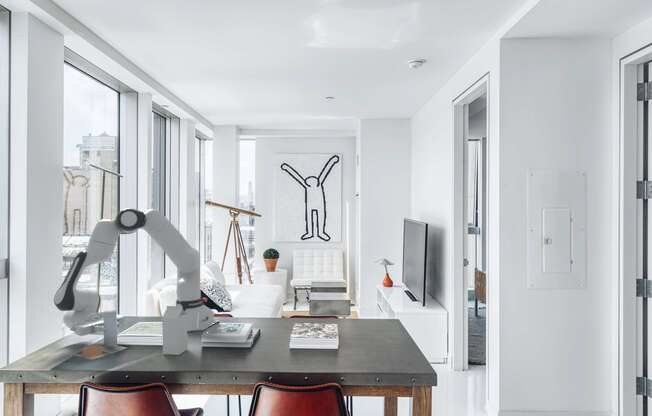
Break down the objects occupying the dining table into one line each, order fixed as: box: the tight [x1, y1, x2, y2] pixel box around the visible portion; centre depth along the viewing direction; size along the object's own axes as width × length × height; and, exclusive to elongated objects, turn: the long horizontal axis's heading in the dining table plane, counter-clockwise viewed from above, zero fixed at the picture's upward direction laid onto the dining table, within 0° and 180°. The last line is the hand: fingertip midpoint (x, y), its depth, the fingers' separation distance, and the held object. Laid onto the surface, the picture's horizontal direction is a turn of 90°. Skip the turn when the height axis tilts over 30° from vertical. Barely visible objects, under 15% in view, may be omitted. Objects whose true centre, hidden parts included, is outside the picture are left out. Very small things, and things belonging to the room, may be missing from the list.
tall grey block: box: [102, 309, 118, 347], centre depth 187 cm, size 5×5×14 cm
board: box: [74, 344, 127, 361], centre depth 184 cm, size 16×11×1 cm
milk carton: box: [161, 305, 188, 356], centre depth 185 cm, size 7×7×19 cm
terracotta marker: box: [82, 343, 103, 357], centre depth 180 cm, size 5×5×3 cm
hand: (111, 327), depth 187 cm, fingers closed on tall grey block, 5 cm apart
